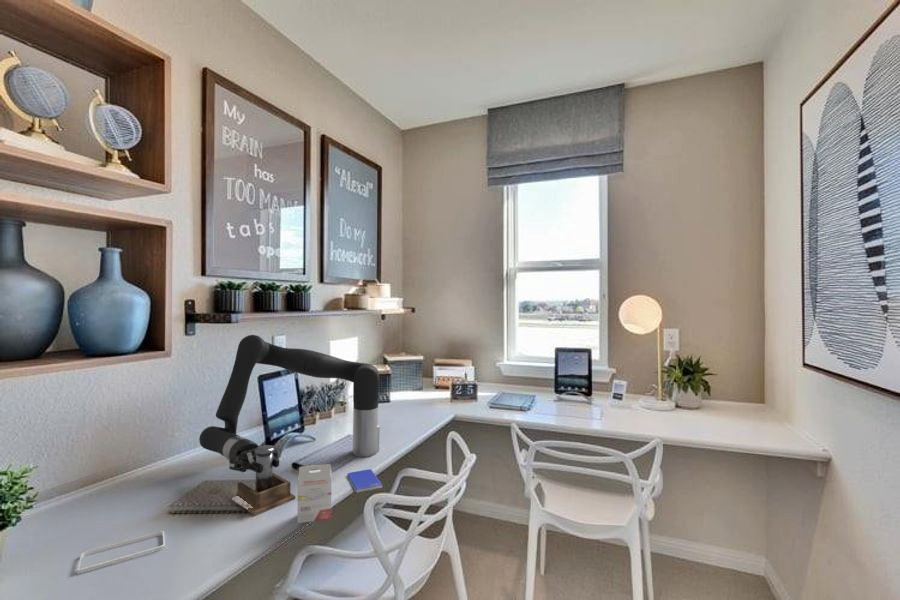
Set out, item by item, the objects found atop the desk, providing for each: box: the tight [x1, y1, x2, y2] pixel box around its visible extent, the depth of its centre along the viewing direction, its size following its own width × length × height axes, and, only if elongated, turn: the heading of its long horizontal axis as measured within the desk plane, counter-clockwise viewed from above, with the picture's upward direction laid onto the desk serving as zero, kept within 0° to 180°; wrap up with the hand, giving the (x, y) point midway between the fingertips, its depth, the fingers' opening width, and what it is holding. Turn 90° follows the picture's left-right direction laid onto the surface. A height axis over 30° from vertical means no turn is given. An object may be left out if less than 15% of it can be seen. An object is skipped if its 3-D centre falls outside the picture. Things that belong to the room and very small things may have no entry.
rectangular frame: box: [76, 530, 166, 575], centre depth 90 cm, size 7×1×15 cm
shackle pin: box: [254, 444, 276, 493], centre depth 115 cm, size 5×5×13 cm
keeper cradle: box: [236, 472, 296, 517], centre depth 115 cm, size 12×13×5 cm
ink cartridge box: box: [296, 463, 333, 524], centre depth 107 cm, size 9×5×15 cm, turn 106°
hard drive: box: [346, 468, 383, 493], centre depth 128 cm, size 2×8×12 cm
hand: (269, 466), depth 113 cm, fingers closed on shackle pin, 4 cm apart
